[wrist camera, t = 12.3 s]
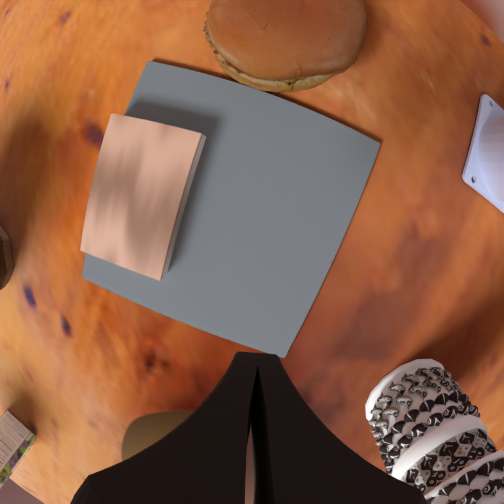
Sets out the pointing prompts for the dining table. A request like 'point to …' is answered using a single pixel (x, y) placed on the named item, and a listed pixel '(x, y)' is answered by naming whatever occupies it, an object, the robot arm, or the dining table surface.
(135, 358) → the dining table surface
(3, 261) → the ceramic cup
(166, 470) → the robot arm
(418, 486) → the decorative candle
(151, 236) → the tile
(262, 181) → the mat
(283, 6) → the burger
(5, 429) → the syrup box
